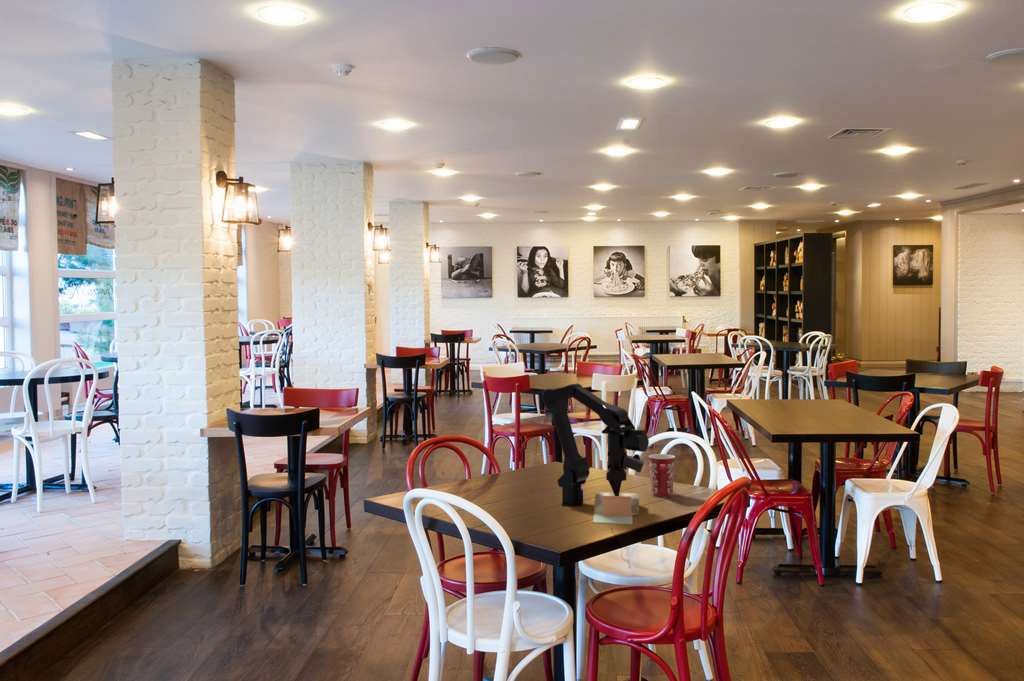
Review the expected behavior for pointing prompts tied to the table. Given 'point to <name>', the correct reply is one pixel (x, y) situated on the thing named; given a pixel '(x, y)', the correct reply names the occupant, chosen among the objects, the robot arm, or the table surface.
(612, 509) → the flat rectangular block
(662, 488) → the mug
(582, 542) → the table surface
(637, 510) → the deck
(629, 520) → the mat
